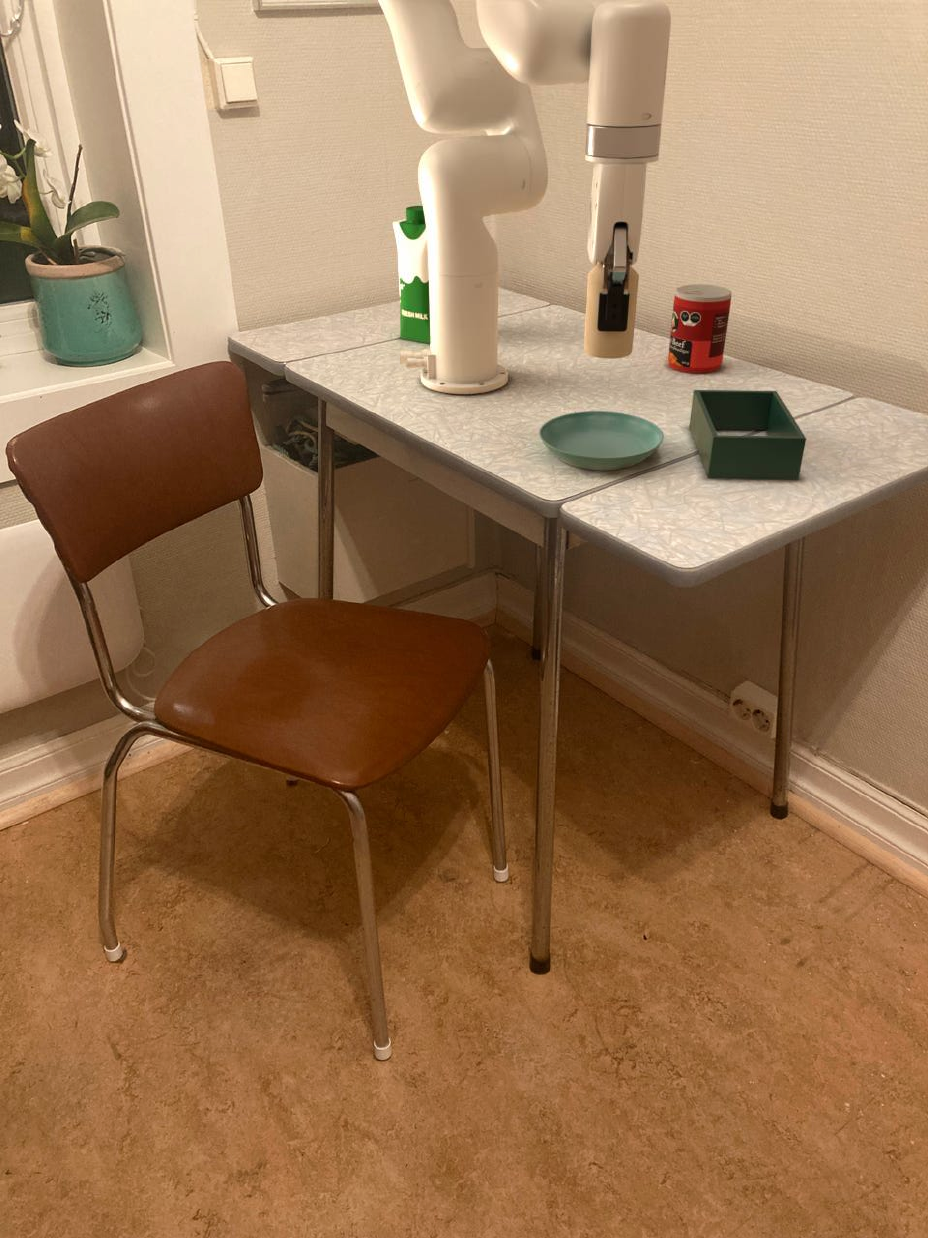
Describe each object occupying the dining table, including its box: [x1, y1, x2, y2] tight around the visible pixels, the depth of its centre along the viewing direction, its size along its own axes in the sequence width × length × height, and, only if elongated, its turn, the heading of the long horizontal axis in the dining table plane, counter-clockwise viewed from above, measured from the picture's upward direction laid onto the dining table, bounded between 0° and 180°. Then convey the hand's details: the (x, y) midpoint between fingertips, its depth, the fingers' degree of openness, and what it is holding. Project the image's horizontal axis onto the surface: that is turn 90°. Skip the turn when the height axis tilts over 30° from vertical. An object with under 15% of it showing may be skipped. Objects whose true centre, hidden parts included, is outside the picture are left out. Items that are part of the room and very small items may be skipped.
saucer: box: [538, 410, 664, 471], centre depth 115 cm, size 15×15×3 cm
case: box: [688, 389, 807, 481], centre depth 115 cm, size 10×16×5 cm, turn 176°
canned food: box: [667, 283, 732, 374], centre depth 141 cm, size 8×8×11 cm
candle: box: [583, 259, 640, 359], centre depth 107 cm, size 6×6×10 cm
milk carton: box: [392, 205, 431, 345], centre depth 153 cm, size 9×9×20 cm
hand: (610, 320), depth 108 cm, fingers closed on candle, 5 cm apart
